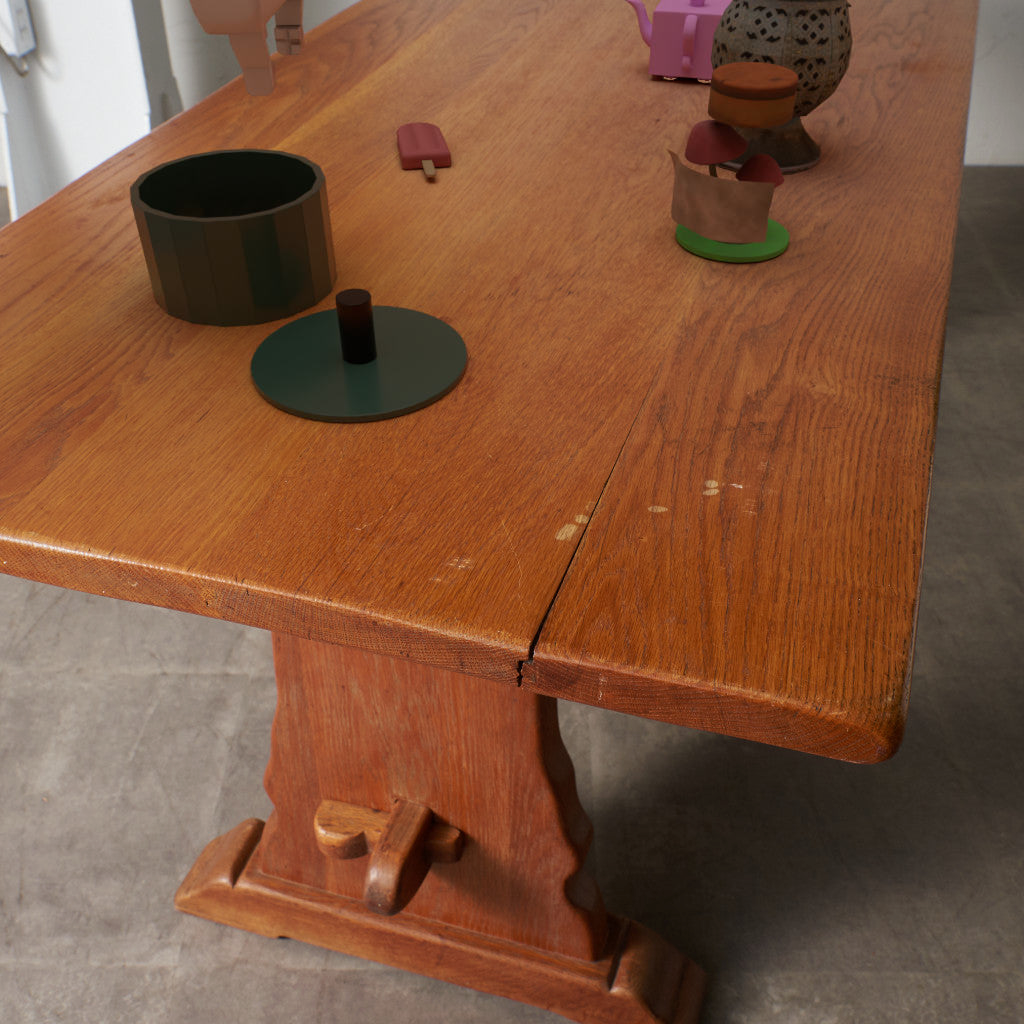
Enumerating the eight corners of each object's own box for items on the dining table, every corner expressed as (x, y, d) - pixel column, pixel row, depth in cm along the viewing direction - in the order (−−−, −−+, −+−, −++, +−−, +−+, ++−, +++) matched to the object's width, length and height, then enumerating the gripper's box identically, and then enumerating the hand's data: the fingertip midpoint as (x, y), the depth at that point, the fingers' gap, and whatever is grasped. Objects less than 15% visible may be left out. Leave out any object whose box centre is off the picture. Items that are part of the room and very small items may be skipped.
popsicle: (405, 170, 105) (393, 122, 117) (406, 185, 106) (394, 136, 118) (456, 166, 106) (439, 120, 117) (456, 181, 107) (439, 133, 118)
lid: (228, 427, 72) (211, 351, 68) (279, 316, 84) (267, 246, 80) (458, 432, 71) (455, 356, 67) (474, 319, 84) (472, 249, 80)
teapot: (609, 82, 134) (614, -1, 127) (628, 54, 144) (634, -25, 137) (746, 93, 130) (759, 8, 123) (756, 63, 140) (768, -17, 134)
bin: (131, 331, 82) (101, 220, 76) (186, 248, 94) (164, 147, 88) (318, 334, 82) (303, 223, 76) (350, 251, 94) (338, 149, 88)
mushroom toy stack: (692, 203, 102) (710, 45, 93) (811, 231, 97) (843, 67, 88) (637, 245, 95) (651, 78, 85) (764, 278, 89) (793, 104, 80)
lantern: (727, 123, 121) (760, -120, 105) (844, 145, 115) (897, -109, 99) (679, 159, 112) (706, -102, 96) (803, 185, 106) (854, -88, 90)
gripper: (230, -185, 69) (266, 32, 78) (134, -148, 53) (192, 120, 62) (322, -187, 69) (347, 31, 77) (253, -151, 53) (294, 119, 62)
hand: (278, 71), depth 69 cm, fingers open, 8 cm apart
